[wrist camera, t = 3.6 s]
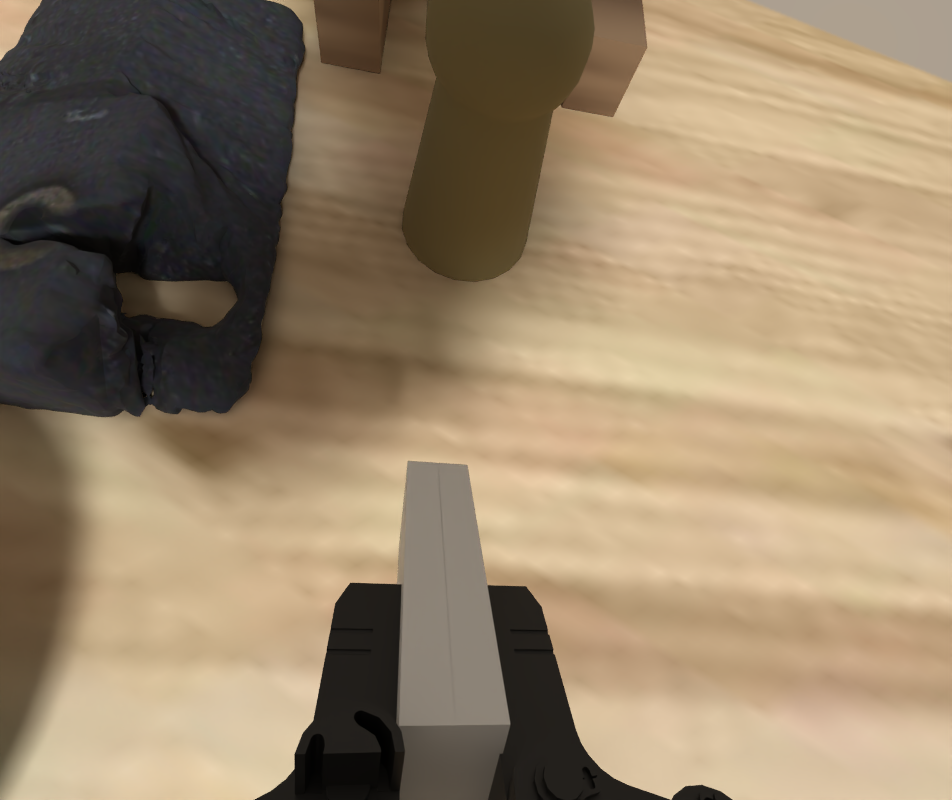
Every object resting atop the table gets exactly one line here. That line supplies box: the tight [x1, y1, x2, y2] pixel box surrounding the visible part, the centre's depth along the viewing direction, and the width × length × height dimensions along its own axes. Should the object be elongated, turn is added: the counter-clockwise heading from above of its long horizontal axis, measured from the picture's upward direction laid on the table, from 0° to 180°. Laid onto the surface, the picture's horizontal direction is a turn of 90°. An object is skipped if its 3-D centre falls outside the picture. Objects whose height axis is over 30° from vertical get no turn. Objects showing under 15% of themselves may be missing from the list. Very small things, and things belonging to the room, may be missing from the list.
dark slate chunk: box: [0, 0, 305, 417], centre depth 20 cm, size 15×22×5 cm
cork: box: [402, 0, 595, 282], centre depth 19 cm, size 6×6×11 cm
